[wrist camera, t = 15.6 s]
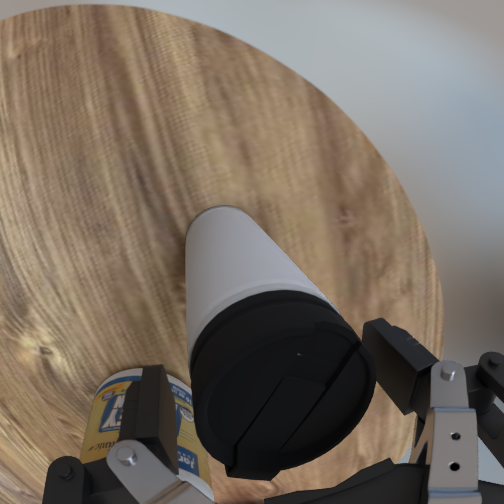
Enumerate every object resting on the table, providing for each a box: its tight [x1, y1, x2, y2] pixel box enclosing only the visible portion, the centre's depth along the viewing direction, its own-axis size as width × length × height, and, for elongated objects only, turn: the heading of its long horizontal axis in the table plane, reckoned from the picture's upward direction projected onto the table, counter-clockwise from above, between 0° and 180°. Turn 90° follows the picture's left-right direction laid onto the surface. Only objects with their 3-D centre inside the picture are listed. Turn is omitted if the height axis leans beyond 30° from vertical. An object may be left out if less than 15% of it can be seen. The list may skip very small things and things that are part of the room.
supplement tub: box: [79, 368, 214, 501], centre depth 23 cm, size 12×12×17 cm
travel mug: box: [185, 205, 376, 481], centre depth 18 cm, size 6×7×20 cm
